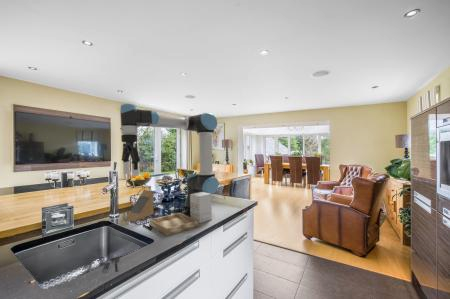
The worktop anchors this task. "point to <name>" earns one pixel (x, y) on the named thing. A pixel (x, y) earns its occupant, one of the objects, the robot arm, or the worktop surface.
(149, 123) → the robot arm
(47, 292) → the worktop surface
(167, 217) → the oak tray
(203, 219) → the supplement box
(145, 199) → the sandwich container
